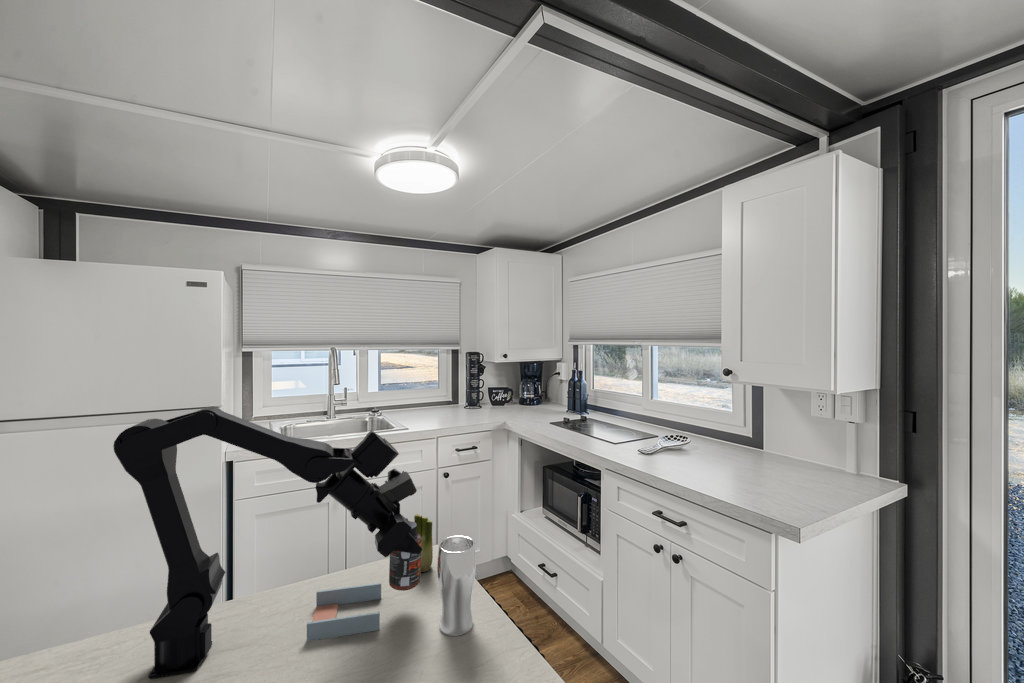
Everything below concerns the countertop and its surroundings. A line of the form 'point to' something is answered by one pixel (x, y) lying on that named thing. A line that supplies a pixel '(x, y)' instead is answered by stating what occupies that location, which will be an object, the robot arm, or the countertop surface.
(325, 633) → the channel
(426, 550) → the fennel bulb
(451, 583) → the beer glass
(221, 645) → the countertop surface
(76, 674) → the countertop surface
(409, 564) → the supplement bottle
